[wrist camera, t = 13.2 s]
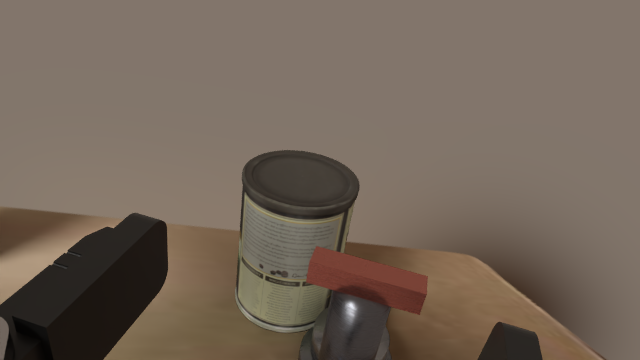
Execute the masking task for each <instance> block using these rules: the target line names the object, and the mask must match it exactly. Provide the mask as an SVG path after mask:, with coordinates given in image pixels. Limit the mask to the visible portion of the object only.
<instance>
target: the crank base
mask: <svg viewBox="0 0 640 360" xmlns="http://www.w3.org/2000/svg"><path fill="white" fill-rule="evenodd" d="M313 329H314V326H313V327H312V328H310V329H309V330H308V332H307V333H306V334H305V336H304V338H303V340H302V343H301V347H300V353H299V359H298V360H312V357H311V353H310V344H311V339H312V334H313ZM385 360H392V359H391V355H390V351H389V349H388V351H387V354H386V357H385Z"/></svg>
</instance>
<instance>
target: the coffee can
mask: <svg viewBox="0 0 640 360" xmlns="http://www.w3.org/2000/svg"><path fill="white" fill-rule="evenodd" d="M242 182H243V191H242V208H241V222H240V239H239V253H238V267H237V282H236V289H235V298H236V303H237V305H238V307H239V309H240V310H241V312H242V313H243V314H244V316H245V317H246V318H248V319H249V320H250V321H251V322H253V323H255V324H256V325H258V326H260V327H262V328H264V329H268V330H272V331H275V332H283V333H292V332H300V331H305V330H308V329H310V328H312V327H313V326H314V324H315V320H316V318H317V317H318V315H319V314H320V313H321V312H322V311H323V310H325V309H326V308H328V307H329V305H330V300H331V295H332V290H331V289H328V288H324V287H321V286H317V285H314V284H310V283H307V282H306V279H307V273H308V267H309V261H310V259H311V257H312V255H313V252H314V250H315V248H316V246H319V247H322V248H326V249H329V250H333V251H337V252H340V253H344V249H345V245H346V241H347V235H348V231H349V226H350V221H351V216H352V212H353V207H354V202H355V200H356V198H357V195H358V191H359V181H358V179H357V177H356V175H355V174H354V173H353V172H352V171H351V170H350V169H349V168H348V167H346V166H345V165H343V164H342V163H340V162H338V161H336V160H334V159H331V158H329V157H326V156H323V155H319V154H315V153H310V152H305V151H293V150H292V151H291V150H284V151H274V152H269V153H264V154H262V155H259V156H257V157H255V158H253V159H251V160H250V161H249V162H248V163H247V164H246V165H245V167H244V169H243V172H242Z"/></svg>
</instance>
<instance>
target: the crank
mask: <svg viewBox="0 0 640 360" xmlns="http://www.w3.org/2000/svg"><path fill="white" fill-rule="evenodd" d="M427 279H428V276H424V275H421V274H417V273H413V272H410V271H406V270H402V269H399V268H395V267H391V266H388V265H384V264H381V263H377V262H373V261H370V260H366V259H362V258H359V257H355V256H351V255H348V254H344V253H340V252H337V251H333V250H329V249H326V248H322V247H319V246H316V248H315V250H314V252H313V255H312V257H311V259H310V261H309V267H308V273H307V279H306V282H307V283H310V284H314V285H317V286H321V287H324V288H328V289H331V290H332V295H331V300H330V305H329V307H328V308H326V309H325V310H323V311H322V312H321V313H320V314H319V315H318V317H317V318H316V320H315V324H314V329H313V334H312V339H311V344H310V353H311V357H312V360H385V357H386V354H387V351H388V347H389V343H390V338H389V333H388V330H387V328H386V326H385V325H386V322H387V318H388V315H389V312H390V308H391V307H394V308H397V309H401V310H404V311H408V312H411V313H415V314H418V315H420V312H421V309H422V306H423V303H424V300H425V298H426V295H427Z"/></svg>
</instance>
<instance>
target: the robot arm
mask: <svg viewBox="0 0 640 360" xmlns="http://www.w3.org/2000/svg"><path fill="white" fill-rule="evenodd" d="M167 272H168V252H167V226H166V223H165V222H164V221H162V220H158V219H154V218H151V217H148V216H145V215H141V214H138V213H133V214H130V215H129V216H128V217H126V218H125V219H124V220H123V221H122V222H121V223H119V224H118V225H117V226H116V227H115V228H110V227H105V228H103V229H101V230H98V231H96V232H94V233H92V234H89V235H87V236H85V237H84V238H82V239H81V240H80V241H79V242H77V243H76V244H75V245H74V246H72V247H71V248H70V249H69V250H68V252H67V253H64V254H63V255H61V256H60V257H59V258H58V259H56V260H55V261H54V263H53V265H49V266H48V267H47V268H45V269H44V270H43V271H42V272H40V273H39V274H38V275H37V276H35V277H34V278H33V279H32V280H30V281H29V282H28V283H27V284H26V285H24V286H23V287H22V288H21V289H19V290H18V291H17V292H16V293H14V294H13V295H12V296H11V297H9V298H8V299H7V300H6V301H5V302H3V303H2V304H1V305H0V360H103V359H104V358H105V357H106V355H107V354H108V353H109V352H110V351H111V349H112V348H113V347H114V346H115V345H116V343H117V342H118V341H119V340H120V339H121V337H122V336H123V335H124V334H125V333H126V331H127V330H128V329H129V328H130V327H131V325H132V324H133V323H134V322H135V320H136V319H137V318H138V317H139V316H140V314H141V313H142V312H143V311H144V310H145V308H146V307H147V306H148V305H149V304H150V302H151V301H152V300H153V299H154V298H155V296H156V295H157V294H158V293H159V291H160V290H161V288H162V286H163V284H164V282H165V279H166V276H167ZM478 360H542V355H541V350H540V345H539V341H538V337H537V335H536V333H535V332H532V331H529V330H526V329H522V328H519V327H515V326H512V325H509V324H505V323H502V322H498V323H497V324H496V325H495V326H494V328H493V330H492V332H491V334H490V336H489V338H488V340H487V342H486V344H485V346H484V348H483V350H482V352H481V354H480V356H479V358H478Z"/></svg>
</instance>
